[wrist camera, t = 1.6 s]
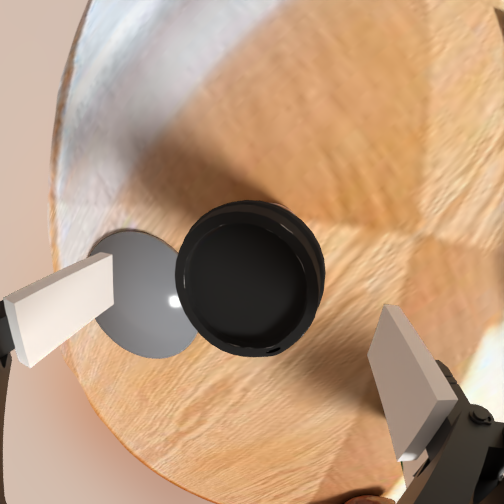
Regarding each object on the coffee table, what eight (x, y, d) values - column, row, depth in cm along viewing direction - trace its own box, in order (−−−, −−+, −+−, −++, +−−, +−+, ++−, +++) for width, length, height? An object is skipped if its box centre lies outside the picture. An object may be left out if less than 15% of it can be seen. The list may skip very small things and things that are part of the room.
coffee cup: (251, 287, 31) (211, 378, 16) (213, 212, 29) (136, 249, 15) (328, 254, 28) (353, 331, 14) (291, 174, 27) (283, 172, 13)
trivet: (85, 222, 32) (82, 223, 31) (208, 243, 30) (206, 244, 29) (92, 336, 36) (90, 338, 36) (199, 369, 34) (197, 372, 34)
